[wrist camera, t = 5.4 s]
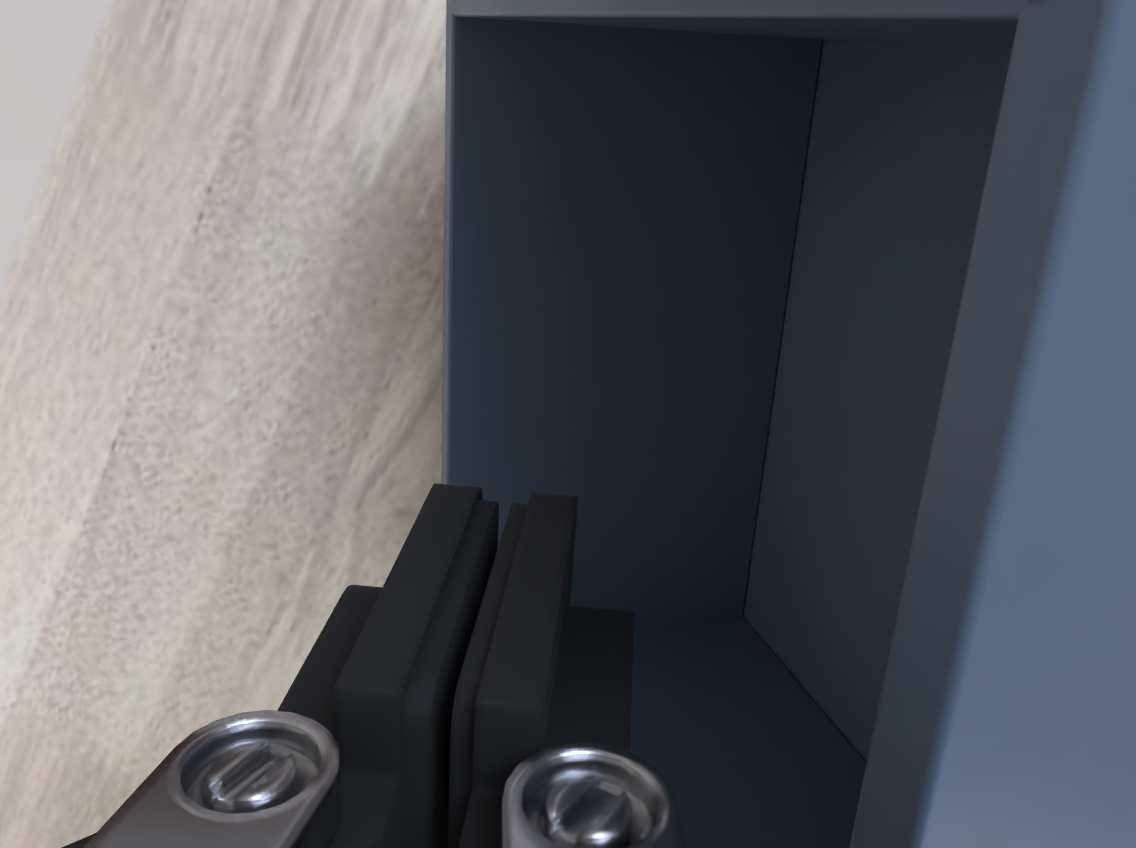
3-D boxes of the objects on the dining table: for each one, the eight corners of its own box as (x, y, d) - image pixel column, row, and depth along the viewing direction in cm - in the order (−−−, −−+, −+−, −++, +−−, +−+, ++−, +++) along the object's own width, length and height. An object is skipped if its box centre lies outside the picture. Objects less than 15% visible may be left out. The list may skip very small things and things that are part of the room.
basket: (439, 660, 22) (737, 1605, 9) (446, -22, 17) (1147, -141, 4) (759, 619, 25) (1366, 1320, 11) (848, 9, 20) (2131, -3, 6)
